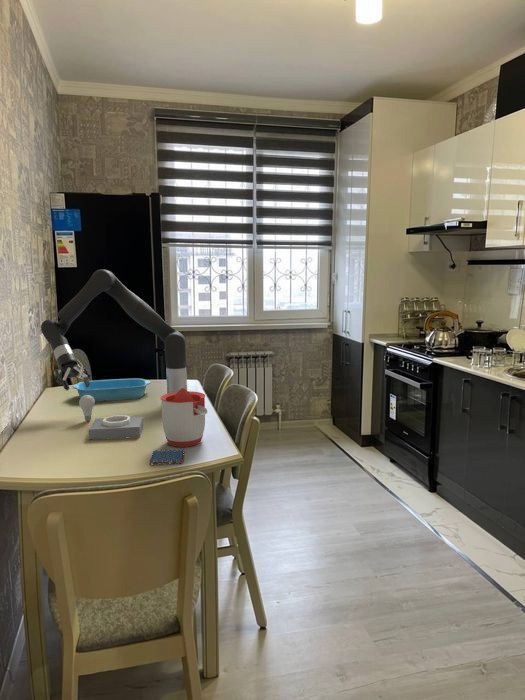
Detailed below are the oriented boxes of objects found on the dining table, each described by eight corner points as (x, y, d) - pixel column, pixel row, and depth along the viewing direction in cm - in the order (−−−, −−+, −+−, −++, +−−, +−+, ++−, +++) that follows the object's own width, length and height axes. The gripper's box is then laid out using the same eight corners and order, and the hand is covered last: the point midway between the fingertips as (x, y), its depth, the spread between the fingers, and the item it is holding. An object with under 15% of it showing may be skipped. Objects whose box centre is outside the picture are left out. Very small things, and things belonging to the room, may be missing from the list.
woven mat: (183, 466, 155) (183, 460, 155) (149, 467, 154) (148, 461, 154) (185, 454, 166) (185, 448, 165) (153, 455, 165) (153, 449, 164)
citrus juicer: (191, 453, 164) (189, 395, 161) (153, 444, 174) (150, 389, 171) (219, 440, 178) (218, 386, 175) (182, 432, 187) (180, 381, 184)
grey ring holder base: (143, 426, 195) (142, 412, 195) (139, 437, 182) (139, 422, 181) (96, 428, 193) (95, 414, 192) (89, 440, 179) (88, 425, 178)
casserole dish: (148, 389, 261) (148, 376, 260) (152, 399, 240) (152, 384, 238) (74, 394, 249) (73, 381, 248) (72, 405, 228) (71, 390, 227)
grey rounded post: (81, 424, 199) (79, 397, 197) (79, 420, 204) (77, 394, 202) (97, 422, 201) (95, 395, 200) (94, 418, 207) (93, 392, 205)
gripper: (50, 354, 206) (63, 385, 199) (83, 350, 215) (96, 380, 209) (46, 365, 210) (59, 395, 204) (79, 361, 220) (92, 390, 214)
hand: (78, 387), depth 206 cm, fingers open, 8 cm apart
